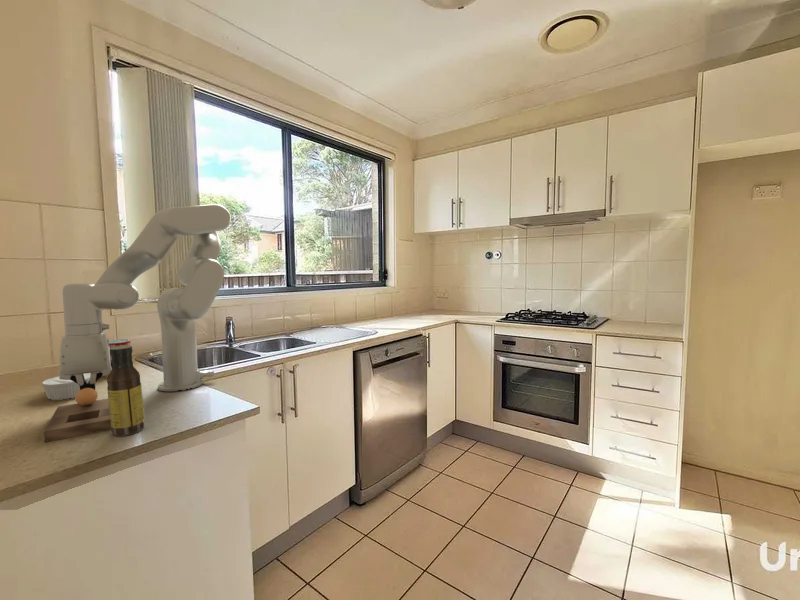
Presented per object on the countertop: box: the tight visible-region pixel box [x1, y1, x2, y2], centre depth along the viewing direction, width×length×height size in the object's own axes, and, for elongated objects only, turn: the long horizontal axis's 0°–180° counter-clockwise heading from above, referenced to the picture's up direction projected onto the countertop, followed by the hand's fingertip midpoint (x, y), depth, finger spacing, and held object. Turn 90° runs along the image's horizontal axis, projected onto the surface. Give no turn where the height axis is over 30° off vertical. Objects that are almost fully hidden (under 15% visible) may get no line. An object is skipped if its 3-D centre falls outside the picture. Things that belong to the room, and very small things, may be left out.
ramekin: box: [41, 373, 91, 401], centre depth 108 cm, size 11×11×5 cm
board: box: [43, 398, 112, 443], centre depth 90 cm, size 14×18×2 cm
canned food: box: [104, 338, 132, 378], centre depth 131 cm, size 8×8×12 cm
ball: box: [74, 388, 99, 405], centre depth 94 cm, size 4×4×4 cm
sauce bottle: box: [106, 345, 145, 437], centre depth 83 cm, size 6×6×20 cm
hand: (88, 398), depth 97 cm, fingers closed
